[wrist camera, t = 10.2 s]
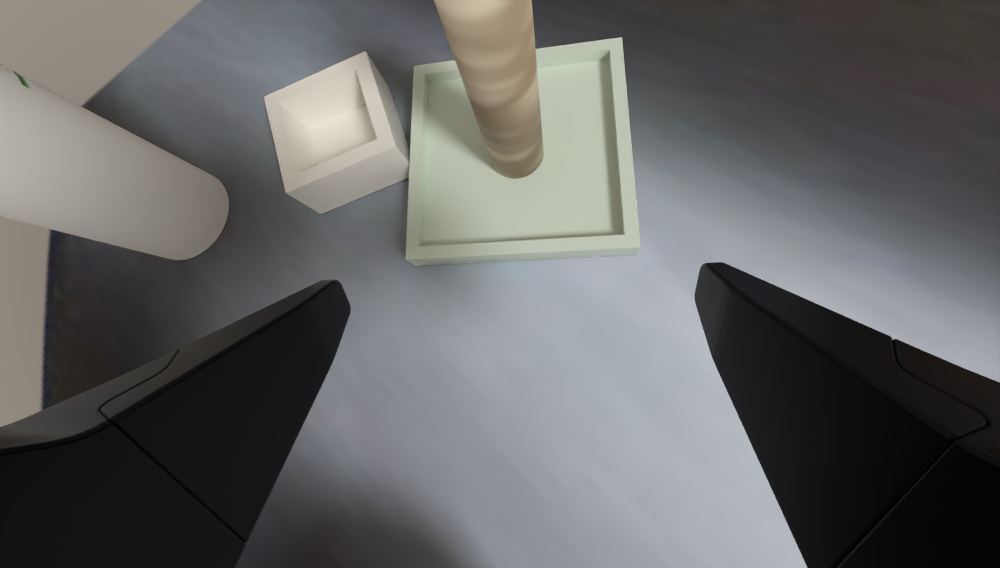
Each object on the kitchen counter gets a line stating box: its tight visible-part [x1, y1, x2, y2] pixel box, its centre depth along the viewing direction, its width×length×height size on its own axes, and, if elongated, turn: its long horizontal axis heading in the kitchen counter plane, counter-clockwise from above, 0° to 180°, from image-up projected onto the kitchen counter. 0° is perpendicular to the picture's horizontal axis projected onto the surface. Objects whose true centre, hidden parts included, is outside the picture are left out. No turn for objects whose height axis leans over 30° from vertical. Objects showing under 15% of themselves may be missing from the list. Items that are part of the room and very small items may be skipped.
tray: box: [406, 37, 640, 266], centre depth 24 cm, size 14×14×2 cm
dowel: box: [434, 0, 544, 179], centre depth 17 cm, size 4×4×14 cm
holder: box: [264, 51, 410, 214], centre depth 25 cm, size 8×8×4 cm
